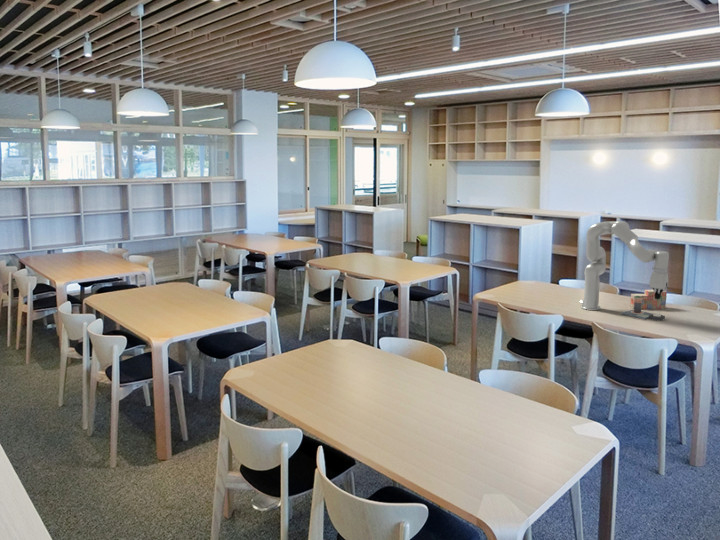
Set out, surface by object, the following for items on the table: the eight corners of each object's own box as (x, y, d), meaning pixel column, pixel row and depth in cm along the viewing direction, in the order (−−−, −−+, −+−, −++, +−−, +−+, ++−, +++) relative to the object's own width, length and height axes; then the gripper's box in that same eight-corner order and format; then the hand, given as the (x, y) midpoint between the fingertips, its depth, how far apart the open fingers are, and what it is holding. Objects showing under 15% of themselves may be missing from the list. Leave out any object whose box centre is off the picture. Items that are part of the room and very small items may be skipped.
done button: (651, 317, 381) (651, 313, 381) (655, 316, 383) (655, 312, 383) (658, 319, 377) (658, 315, 377) (662, 318, 380) (662, 314, 379)
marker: (632, 311, 395) (633, 298, 393) (636, 310, 397) (637, 297, 395) (638, 313, 391) (639, 299, 389) (642, 312, 393) (643, 298, 392)
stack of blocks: (633, 308, 407) (634, 291, 405) (630, 306, 413) (631, 289, 411) (665, 309, 405) (667, 291, 403) (661, 306, 411) (663, 289, 409)
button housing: (648, 318, 382) (649, 315, 381) (655, 317, 385) (655, 313, 384) (658, 320, 376) (658, 317, 376) (664, 319, 379) (665, 315, 379)
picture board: (620, 313, 395) (620, 312, 394) (633, 310, 402) (633, 309, 401) (644, 319, 380) (644, 317, 380) (657, 316, 387) (657, 314, 387)
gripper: (645, 269, 379) (643, 297, 383) (668, 273, 367) (665, 302, 370) (652, 268, 383) (650, 295, 387) (675, 272, 370) (672, 300, 374)
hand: (657, 298), depth 378 cm, fingers closed
